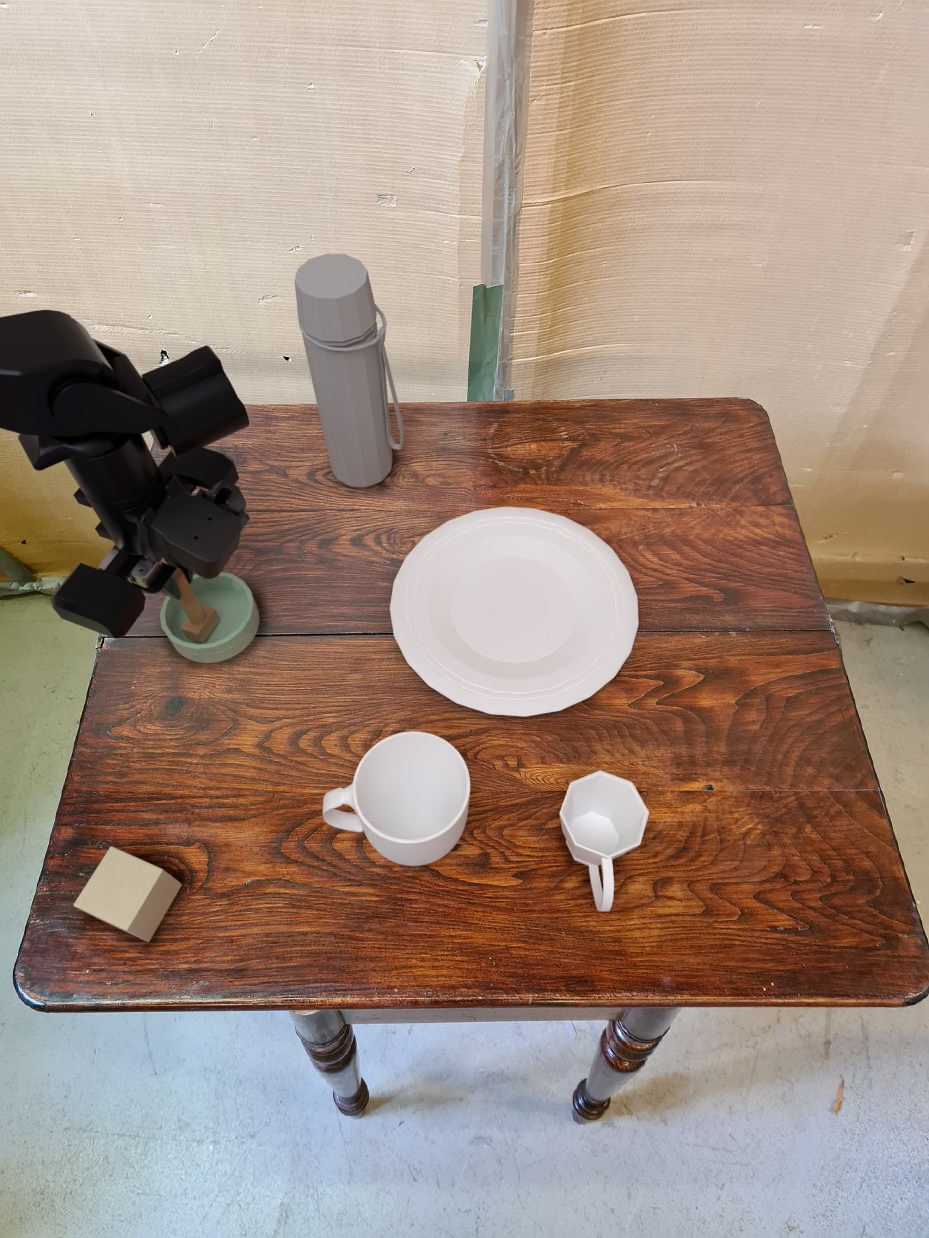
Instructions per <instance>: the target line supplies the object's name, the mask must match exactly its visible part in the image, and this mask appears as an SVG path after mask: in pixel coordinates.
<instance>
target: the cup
mask: <svg viewBox="0 0 929 1238" xmlns="http://www.w3.org/2000/svg"><path fill="white" fill-rule="evenodd" d="M558 815H559V819H560V826H561V832H562V834H563V836H564V838H565V844H566V846H567V848H568V851H569V853H570V854H571V856H572V858H573V860H574V861H575V862H578V863H580V864H583V865H585V866H588V872H589V873H588V874H589V880H590V886H591V891H592V895H593V901H594V904H595V907H596V910H597V911H598V912H610V911H611V909H612V907H613V906H612V905H613V903H614V894H615V879H614V877H615V876H614V865H613V860H614V859H617V858H619V857H621V856H623V855H625V854H626V853H628V852H630V851H631V850H633V849H636V848H637V847H638V846H640V845H641V843H642V839H643V837H644V832H645V830H646V827H647V826H646V825H647V822H648V818H649V815H650V811H649V809H648V807H647V805H646V804H645V802H644V800H643V798H642V796H641V795H640V793H639V792H638V790H637V788H636V786H635V784H634V782H633V781H630V780H627V779H625V778H622V777H621V776H617V775H614V774H611V773H610V772H609V773H608V772H606V771H604V770H601V769H599V770H597V771H595V772H592V773H590V774H588V775H585V776H582V777H580V778H578V779H576V780H574V781H571V782H570V783H569V785H568V788H567V791H566V793H565V797H564V799H563V802H562V805H561V808H560V810H559V813H558ZM599 866H601V872H602V882H603V883H602V882H601V878H600V870H599Z"/></svg>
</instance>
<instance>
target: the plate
mask: <svg viewBox="0 0 929 1238" xmlns="http://www.w3.org/2000/svg"><path fill="white" fill-rule="evenodd" d="M629 572H630V571H629V570H628V568H627V567H626V566H625V564H623V562H622V561H621V559H620V557H619V556H618V555H617V553H616V552H615V551H614V549H613V548H612V546H610V545H609V544H607V543H606V542H605V541H604V540H603V539H601V538H600V537H599V536H598V535H597V534H596V533H594V531H592V530H591V529H589V528H587V527H585V526H584V525H581V524H579V523H578V522H575V521H574V520H573V519H570V518H568V517H566V516H564V515H561V514H557V513H553V512H550V511H546V510H543V509H539V508H535V507H517V506H516V507H515V506H499V507H492V508H487V509H486V508H485V509H479V510H473V511H471V512H467V513H466V514H463V515H460V516H457V517H455V518H453V519H449V520H447V521H446V522H444V523H442V524H441V525H440V526H438V527H437V528H434V529H433V530H432V531H431V532H429V533H428V534H425V535H424V536H423V537H422V538H421V540H420V541H419V542H418V543H417V544H416V545H415V546H414V547H413V549H411V551H410V552H409V553H408V554H407V555H406V556H405V558H404V559H403V562H402V564H401V566H400V568H399V570H398V572H397V574H396V577H395V578H394V580H393V583H392V591H391V597H390V603H389V613H390V620H391V625H392V626H391V627H392V633H393V637H394V639H395V641H396V644H397V645H398V647H399V650H400V651H401V653H402V656H403V658H404V660H405V661H406V663H407V665H408V666H409V667H410V668H411V669H412V671H414V673H415V674H416V675H417V676H419V679H421V680H422V681H423V682H424V683H425V684H426V685H427V686H428V687H429V688H430V689H431V690H433V691H435V692H437V693H438V694H440V695H442V696H443V697H445V698H446V699H448V700H449V701H451V702H452V703H454V704H456V705H458V706H462V707H465V708H468V709H471V710H474V711H477V712H480V713H483V714H487V715H489V716H501V717H516V718H529V717H534V716H540V715H547V714H552V713H558V712H561V711H563V710H565V709H568V708H570V707H572V706H575V705H577V704H580V703H581V702H583V701H586V700H588V699H590V698H592V697H593V696H595V694H596V693H598V692H599V691H600V690H601V689H602V688H604V687H605V686H606V685H607V684H608V683H610V682H611V681H613V679H615V677H616V676H617V674H618V673H619V671H620V670H621V668H622V666H623V665H624V664H625V663H626V660H627V659H628V658H629V656H630V655H631V653H632V650H633V647H634V643H635V639H636V636H637V631H638V628H639V626H640V625H639V603H638V602H639V599H638V598H639V597H638V595H637V592H636V589H635V586H634V584H633V581H632V579H631V575H630V573H629Z"/></svg>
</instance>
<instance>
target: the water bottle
mask: <svg viewBox="0 0 929 1238" xmlns="http://www.w3.org/2000/svg"><path fill="white" fill-rule="evenodd" d="M370 280H371V279H370V276H369V272H368V269H367V268H366V266H365V265H364V264H363V262H362V261H361V260H360V259H358V258H355V257H353V256H351V255H348V254H344V253H324V254H321V255H317V256H314V257H311V258H309V259H307V260H305V262H304V263H302V264H301V265H300V266H299V267H298V268H296V273H295V277H294V289H295V301H296V309H297V319H298V327H299V330H300V331H301V336H302V341H303V345H304V351H305V355H306V358H307V364H308V369H309V374H310V378H311V382H312V387H313V392H314V396H315V402H316V405H317V411H318V415H319V420H320V424H321V429H322V434H323V438H324V443H325V448H326V452H327V458H328V463H329V466H330V470H331V472H332V473H333V475H334V477H335V478H336V480H337V481H339V482H341V483H343V484H345V485H347V486H348V487H350V488H370V487H372V486H374V485H377V484H380V483H381V482H382V481H383V480H384V479H385V478H386V477H387V476H388V475H389V474H390V473H391V472H392V464H393V451H392V449H393V450H399V451H401V450H402V447H403V445H404V442H405V426H404V422H403V418H402V414H401V409H400V406H399V405H400V404H399V400H398V396H397V393H396V388H395V383H394V379H393V375H392V371H391V367H390V363H389V359H388V354H387V350H386V347H385V346H386V345H385V342H386V335H387V325H388V324H387V320H386V317H385V314H384V312H383V311H382V310H381V309H380V307H379V306H378V305H377V304H376V301H375V298H374V293H373V290H372V284H371V281H370ZM377 313H378V314H377ZM378 315H379V316H380V319H381V323H382V324H381V326H380V327H379V328H378V321H377V316H378ZM387 380H388V385H389V389H390V393H391V397H392V403H393V407H394V411H395V416H396V420H397V423H398V428H399V432H400V443H395V441H394V439H393V436H392V432H391V420H390V409H389V408H390V407H389V397H388V385H387Z"/></svg>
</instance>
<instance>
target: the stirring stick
mask: <svg viewBox="0 0 929 1238" xmlns="http://www.w3.org/2000/svg"><path fill="white" fill-rule="evenodd" d="M176 568H177V569H176V571H175V572H174V574H173V575H172V578H173V579H174V581H175V583H176V585H177V586H178V588H179V591H180V594H181V598H180V600H178V601H179V603H180V605H181V607H182V608H183V610H184V612H185V614H186V615H187V617H188V618H187V619H186V621H185V622H184V624H183V625H182V626H181V629H182V631H183V633H184V634H185V636H186V638H188V639H191V640H194V641H196V642H199V643H202V644H204V643H205V641H206V640H207V638H208V637H209V635H210V634H211V632H212V631H213V629H214V628H215V626H216V625H217V623H218V622H219V620H220V618H219V616H218V614H217V612H216V610H215V609H214V608H212V607H209V606H206V605H203V604H201V603H199V601H198V599H197V597H196V595H195V594H194V592H193V590H192V588H191V586H190V584H189V582H188V580H187V579H186V577H185V575H184V573H183V571H182V569H180V568H178V567H176Z"/></svg>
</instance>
